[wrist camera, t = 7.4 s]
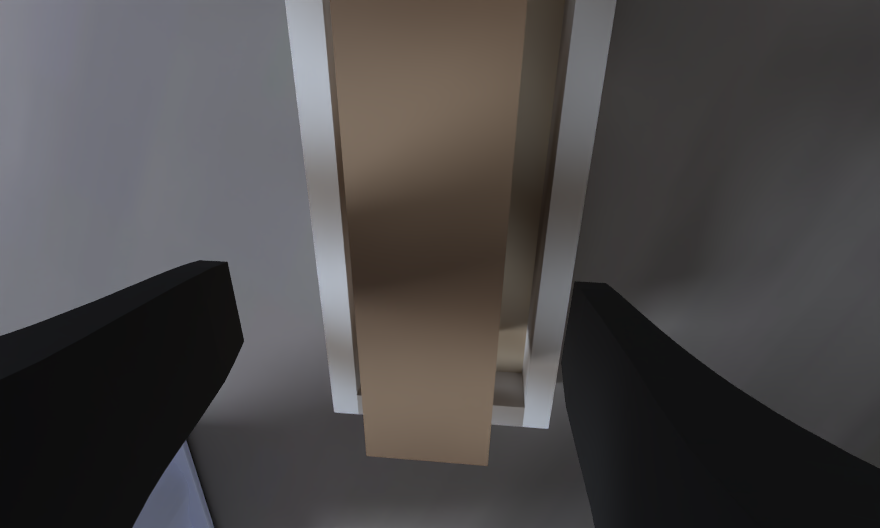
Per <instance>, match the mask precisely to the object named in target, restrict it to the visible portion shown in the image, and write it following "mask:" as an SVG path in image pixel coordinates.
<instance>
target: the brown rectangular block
mask: <svg viewBox="0 0 880 528" xmlns="http://www.w3.org/2000/svg"><path fill="white" fill-rule="evenodd" d="M526 11H527V0H330V12H331V24H332V37H333V49H334V61H335V74H336V86H337V98H338V111H339V123H340V135H341V148H342V160H343V173H344V185H345V197H346V210H347V222H348V234H349V247H350V259H351V271H352V284H353V296H354V308H355V321H356V333H357V346H358V358H359V370H360V383H361V395H362V407H363V420H364V432H365V444H366V456H373V457H385V458H397V459H409V460H421V461H433V462H445V463H457V464H469V465H481V466H488V456H489V445H490V433H491V421H492V409H493V398H494V386H495V374H496V363H497V351H498V339H499V327H500V316H501V304H502V292H503V281H504V269H505V257H506V245H507V234H508V222H509V210H510V199H511V187H512V175H513V163H514V152H515V140H516V128H517V117H518V105H519V93H520V81H521V70H522V58H523V46H524V35H525V23H526Z"/></svg>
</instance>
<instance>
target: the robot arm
mask: <svg viewBox="0 0 880 528" xmlns="http://www.w3.org/2000/svg"><path fill="white" fill-rule="evenodd" d="M243 342H244V338H243V333H242V329H241V324H240V319H239V315H238V310H237V305H236V300H235V296H234V291H233V286H232V281H231V277H230V272H229V267H228V262H220V261H202V260H199V261H196V262H192V263H189V264H185V265H182V266H180V267H177V268H174V269H172V270H169V271H166V272H164V273H161V274H159V275H156V276H154V277H151V278H149V279H147V280H144V281H142V282H139V283H137V284H135V285H132V286H130V287H127V288H125V289H123V290H120V291H118V292H115V293H113V294H111V295H108V296H106V297H103V298H101V299H99V300H96V301H94V302H91V303H88V304H86V305H83V306H81V307H78V308H75V309H73V310H70V311H68V312H65V313H63V314H60V315H57V316H55V317H52V318H50V319H47V320H45V321H42V322H39V323H37V324H34V325H31V326H28V327H26V328H23V329H20V330H17V331H14V332H11V333H8V334H5V335H2V336H0V528H214V525H213V522H212V519H211V516H210V513H209V510H208V507H207V504H206V500H205V497H204V494H203V491H202V488H201V485H200V482H199V479H198V476H197V472H196V469H195V466H194V463H193V460H192V457H191V454H190V451H189V447H188V444H187V441H186V439H187V438H188V436H189V435H190V433H191V432H192V430H193V429H194V427H195V426H196V424H197V423H198V421H199V420H200V418H201V417H202V415H203V414H204V412H205V411H206V409H207V408H208V406H209V405H210V403H211V402H212V400H213V399H214V397H215V396H216V394H217V393H218V391H219V390H220V388H221V387H222V385H223V384H224V382H225V380H226V378H227V376H228V374H229V372H230V370H231V368H232V366H233V364H234V362H235V360H236V358H237V356H238V353H239V351H240V349H241V347H242V345H243ZM561 365H562V375H563V385H564V393H565V402H566V408H567V412H568V417H569V421H570V425H571V429H572V433H573V438H574V442H575V446H576V450H577V454H578V458H579V462H580V466H581V470H582V474H583V478H584V482H585V486H586V490H587V494H588V498H589V502H590V506H591V511H592V516H593V521H594V525H595V528H880V469H879V468H877V467H875V466H873V465H871V464H869V463H867V462H865V461H863V460H861V459H859V458H857V457H855V456H853V455H851V454H850V453H848V452H846V451H844V450H842V449H840V448H838V447H837V446H835V445H833V444H831V443H829V442H827V441H826V440H824V439H822V438H820V437H818V436H816V435H815V434H813V433H811V432H809V431H807V430H805V429H804V428H802V427H800V426H798V425H797V424H795V423H793V422H791V421H790V420H788V419H786V418H785V417H783V416H781V415H780V414H778V413H776V412H775V411H773V410H771V409H770V408H768V407H767V406H765V405H763V404H762V403H760V402H759V401H757V400H756V399H754V398H753V397H751V396H749V395H748V394H746V393H745V392H743V391H742V390H740V389H738V388H737V387H735V386H734V385H732V384H731V383H730V382H728V381H727V380H725V379H724V378H722V377H721V376H719V375H718V374H717V373H715V372H714V371H713V370H711V369H710V368H708V367H707V366H706V365H704V364H703V363H702V362H700V361H699V360H698V359H696V358H695V357H694V356H692V355H691V354H690V353H688V352H687V351H686V350H685V349H683V348H682V347H681V346H680V345H678V344H677V343H676V342H675V341H673V340H672V339H671V338H670V337H668V336H667V335H666V334H665V333H664V332H662V331H661V330H660V329H659V328H658V327H656V326H655V325H654V324H653V323H652V322H651V321H649V320H648V319H647V318H646V317H645V316H644V315H643V314H641V313H640V312H639V311H638V310H637V309H636V308H635V307H633V306H632V305H631V304H630V303H629V302H628V301H627V300H625V299H624V298H623V297H622V296H621V295H620V294H619V293H617V292H616V291H615V290H614V289H613V288H611V287H610V286H609V285H607V284H606V283H592V282H575V283H574V289H573V295H572V301H571V307H570V313H569V319H568V325H567V331H566V337H565V343H564V349H563V355H562V361H561Z"/></svg>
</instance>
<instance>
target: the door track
mask: <svg viewBox="0 0 880 528" xmlns="http://www.w3.org/2000/svg"><path fill="white" fill-rule="evenodd" d="M616 1H617V0H527V11H526V23H525V35H524V46H523V58H522V70H521V81H520V93H519V105H518V117H517V128H516V140H515V152H514V163H513V175H512V187H511V199H510V210H509V222H508V234H507V245H506V257H505V269H504V281H503V292H502V304H501V316H500V327H499V339H498V351H497V363H496V374H495V386H494V398H493V409H492V421H491V424H492V425H505V426H518V427H531V428H544V429H548V428H549V422H550V415H551V409H552V403H553V396H554V390H555V384H556V378H557V371H558V365H559V359H560V353H561V346H562V340H563V334H564V327H565V321H566V315H567V309H568V302H569V296H570V290H571V283H572V277H573V271H574V265H575V258H576V252H577V246H578V240H579V233H580V227H581V221H582V214H583V208H584V202H585V196H586V189H587V183H588V177H589V170H590V164H591V158H592V152H593V145H594V139H595V133H596V127H597V120H598V114H599V108H600V101H601V95H602V89H603V83H604V76H605V70H606V64H607V57H608V51H609V45H610V39H611V32H612V26H613V20H614V14H615V7H616ZM285 4H286V13H287V21H288V29H289V38H290V46H291V54H292V63H293V71H294V80H295V88H296V96H297V105H298V113H299V122H300V130H301V138H302V147H303V155H304V163H305V172H306V180H307V189H308V197H309V205H310V214H311V222H312V231H313V239H314V247H315V256H316V264H317V273H318V281H319V289H320V298H321V306H322V314H323V323H324V331H325V340H326V348H327V356H328V365H329V373H330V382H331V390H332V398H333V407H334V412H336V413H349V414H362V415H363V407H362V395H361V383H360V370H359V358H358V346H357V333H356V321H355V308H354V296H353V284H352V271H351V259H350V247H349V234H348V222H347V210H346V197H345V185H344V173H343V160H342V148H341V135H340V123H339V111H338V98H337V86H336V74H335V61H334V49H333V37H332V24H331V12H330V0H285Z"/></svg>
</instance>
